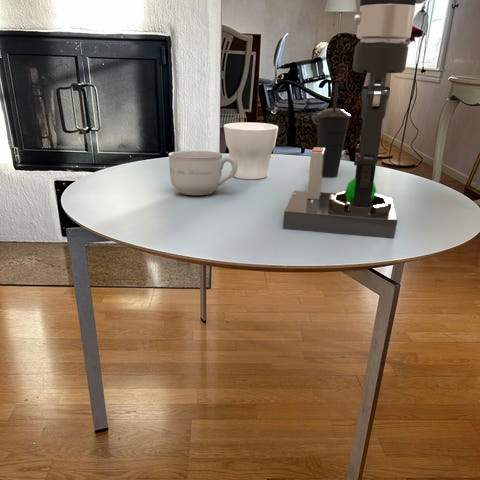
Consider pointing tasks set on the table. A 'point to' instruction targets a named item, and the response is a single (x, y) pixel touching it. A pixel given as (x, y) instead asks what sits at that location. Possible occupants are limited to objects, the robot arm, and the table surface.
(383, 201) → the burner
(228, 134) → the cup
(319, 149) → the upright white panel
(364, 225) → the cooktop
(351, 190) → the polyhedron
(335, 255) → the table surface
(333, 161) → the drinking cup
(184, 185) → the teacup
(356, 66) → the robot arm
